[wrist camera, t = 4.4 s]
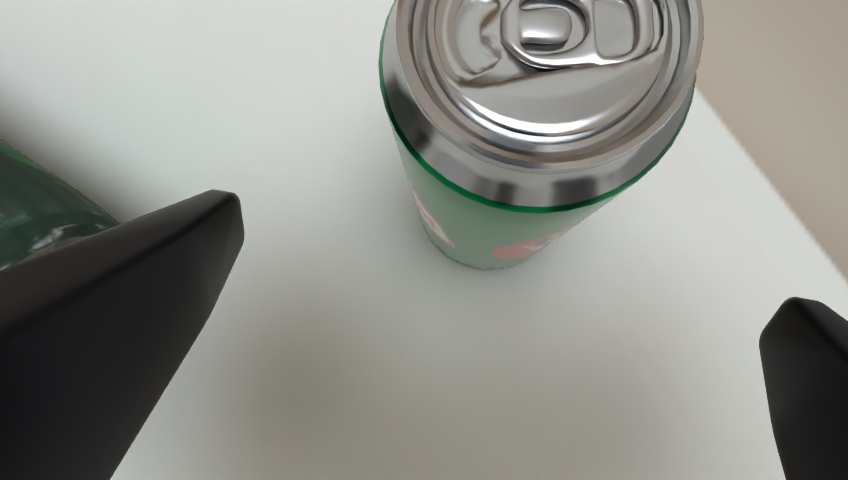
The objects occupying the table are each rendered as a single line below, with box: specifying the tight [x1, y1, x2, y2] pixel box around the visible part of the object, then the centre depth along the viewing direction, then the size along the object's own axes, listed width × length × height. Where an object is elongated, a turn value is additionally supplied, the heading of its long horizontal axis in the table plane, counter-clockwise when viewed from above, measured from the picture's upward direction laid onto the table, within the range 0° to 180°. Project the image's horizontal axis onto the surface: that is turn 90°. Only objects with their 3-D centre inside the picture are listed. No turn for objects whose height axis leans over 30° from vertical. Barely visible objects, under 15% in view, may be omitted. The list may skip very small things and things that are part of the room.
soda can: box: [379, 0, 704, 270], centre depth 13 cm, size 5×5×12 cm
